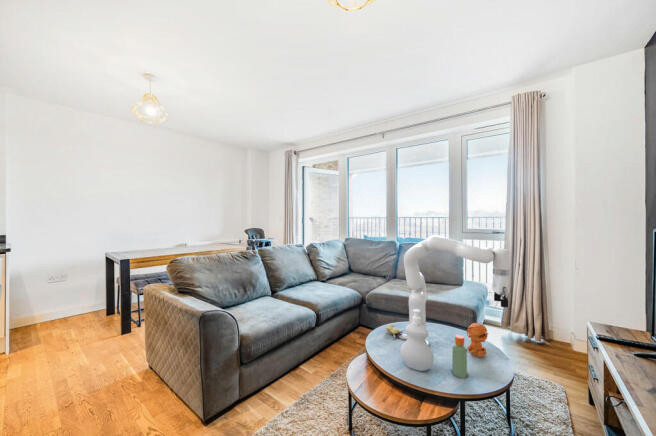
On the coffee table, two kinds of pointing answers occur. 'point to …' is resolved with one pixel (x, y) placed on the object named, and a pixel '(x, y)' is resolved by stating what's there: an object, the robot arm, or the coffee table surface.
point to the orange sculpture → (477, 339)
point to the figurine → (394, 331)
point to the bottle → (459, 360)
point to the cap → (459, 340)
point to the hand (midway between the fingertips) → (500, 303)
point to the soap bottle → (416, 346)
